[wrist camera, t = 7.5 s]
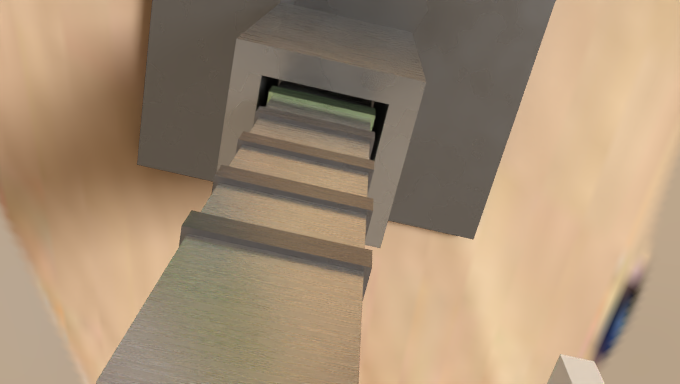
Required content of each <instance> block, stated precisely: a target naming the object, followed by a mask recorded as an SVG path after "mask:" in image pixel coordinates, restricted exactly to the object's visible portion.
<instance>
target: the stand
mask: <svg viewBox="0 0 680 384" xmlns="http://www.w3.org/2000/svg"><path fill="white" fill-rule="evenodd" d="M555 1H556V0H152V10H151V21H150V32H149V43H148V53H147V64H146V75H145V86H144V97H143V107H142V118H141V129H140V140H139V150H138V161H137V165H141V166H146V167H150V168H155V169H159V170H164V171H168V172H173V173H177V174H182V175H186V176H191V177H195V178H200V179H204V180H209V181H213V182H214V175H215V174H216V172H217V171H218V169H219V168H220V166H221V165H225V166H229V165H230V164H231V162H232V160H233V159H234V157H235V155H236V148H237V142H238V138H239V137H240V135H241V134H242V132H243V131H244V132H249V133H250V131H251V129H252V128H253V125H254V119H255V113H256V111H257V109H258V108H259V106H262V107H266V105H267V100H268V94H269V91H270V89H271V88H272V86H278V84H279V79H280V80H284V81H289V82H293V83H298V84H302V85H306V86H311V87H315V88H319V89H324V90H328V91H333V92H337V93H341V94H346V95H350V96H355V97H359V98H363V99H368V100H372V101H374V106H373V108H374V109H376V113H375V119H374V123H373V127H372V132H375V141H374V144H373V148H372V152H371V156H370V160H373V161H374V172H373V176H372V180H371V184H370V188H369V192H368V196H367V197H369V198H373V213H372V217H371V221H370V224H369V228H368V232H367V236H366V240H365V245H368V246H373V247H377V248H380V247H381V244H382V240H383V237H384V233H385V229H386V226H387V222H388V220H389V221H393V222H398V223H402V224H406V225H411V226H415V227H420V228H424V229H429V230H433V231H438V232H442V233H447V234H451V235H456V236H460V237H465V238H469V239H474V236H475V233H476V230H477V227H478V225H479V222H480V219H481V216H482V213H483V210H484V207H485V204H486V201H487V198H488V195H489V193H490V190H491V187H492V184H493V181H494V178H495V175H496V172H497V169H498V166H499V163H500V161H501V158H502V155H503V152H504V149H505V146H506V143H507V140H508V137H509V134H510V131H511V129H512V126H513V123H514V120H515V117H516V114H517V111H518V108H519V105H520V102H521V99H522V97H523V94H524V91H525V88H526V85H527V82H528V79H529V76H530V73H531V70H532V67H533V65H534V62H535V59H536V56H537V53H538V50H539V47H540V44H541V41H542V38H543V35H544V33H545V30H546V27H547V24H548V21H549V18H550V15H551V12H552V9H553V6H554V3H555Z"/></svg>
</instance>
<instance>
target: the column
mask: <svg viewBox="0 0 680 384" xmlns="http://www.w3.org/2000/svg"><path fill="white" fill-rule="evenodd" d="M373 106H374V101H372V100H368V99H363V98H359V97H355V96H350V95H346V94H341V93H337V92H333V91H328V90H324V89H319V88H315V87H311V86H306V85H302V84H298V83H293V82H289V81H284V80H280V79H279V84H278V86H272V88H271V89H270V91H269V94H268V100H267V105H266V107H262V106H259V108H258V109H257V111H256V113H255V119H254V125H253V128H252V129H251V131H250V133H249V132H244V131H243V132H242V134H241V135H240V137H239V138H238V142H237V148H236V155H235V157H234V159H233V160H232V162H231V164H230V165H229V166H225V165H221V166H220V168H219V169H218V171H217V172H216V174H215V175H214V182H213V189H212V194H211V196H210V198H209V199H208V201H207V203H206V204H205V206H204V207H203V209H202V211H201V212H196V211H191V212H190V214H189V215H188V217H187V218H186V220H185V222H184V223H183V225H182V227H181V235H180V243H179V248H178V250H177V251H176V253H175V255H174V256H173V258H172V259H171V261H170V263H169V264H168V266H167V268H166V269H165V271H164V272H163V274H162V276H161V277H160V279H159V281H158V282H157V284H156V285H155V287H154V289H153V290H152V292H151V294H150V295H149V297H148V298H147V300H146V302H145V303H144V305H143V307H142V308H141V310H140V311H139V313H138V315H137V316H136V318H135V320H134V321H133V323H132V324H131V326H130V328H129V329H128V331H127V333H126V334H125V336H124V337H123V339H122V341H121V342H120V344H119V346H118V347H117V349H116V350H115V352H114V354H113V355H112V357H111V359H110V360H109V362H108V363H107V365H106V367H105V368H104V370H103V372H102V373H101V375H100V376H99V378H98V380H97V381H96V384H358V383H359V361H360V340H361V319H362V301H363V298H364V294H365V290H366V287H367V283H368V280H369V276H370V272H371V269H372V250H368V249H365V240H366V236H367V232H368V228H369V224H370V221H371V217H372V213H373V198H369V197H367V196H368V192H369V188H370V184H371V180H372V176H373V172H374V161H373V160H370V156H371V152H372V148H373V144H374V141H375V132H372V127H373V123H374V119H375V113H376V109H374V108H373Z"/></svg>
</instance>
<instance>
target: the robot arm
mask: <svg viewBox="0 0 680 384" xmlns="http://www.w3.org/2000/svg"><path fill="white" fill-rule="evenodd" d="M547 384H605V383H604V381H603V379H602V377H601V375H600V373H599V371H598V368H597V366H596V364H595V362H594V361H590V360H585V359H580V358H576V357H571V356H566V355H562V354H560V356H559V358H558V360H557V363H556V365H555V367H554V369H553V372H552V374H551V376H550V378H549V380H548V383H547Z"/></svg>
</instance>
